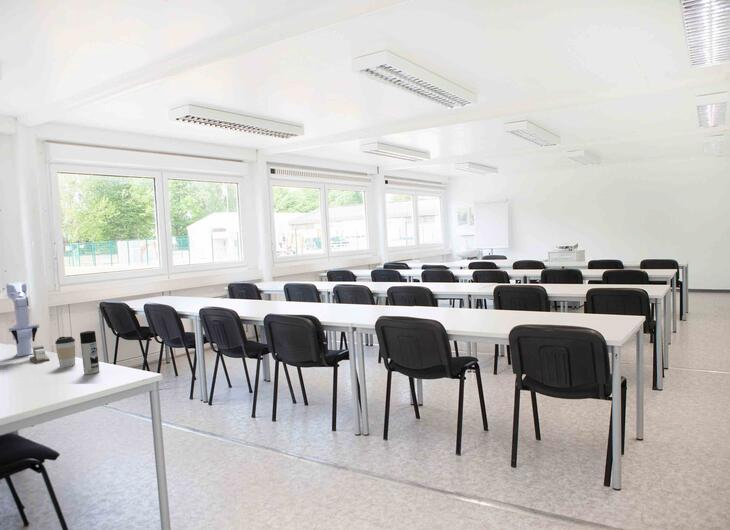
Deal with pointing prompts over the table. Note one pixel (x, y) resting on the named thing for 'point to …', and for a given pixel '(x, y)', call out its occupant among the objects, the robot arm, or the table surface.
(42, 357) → the cream blocky elongated piece
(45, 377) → the table surface
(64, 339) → the coffee cup
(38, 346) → the block
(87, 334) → the spray can
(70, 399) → the table surface
